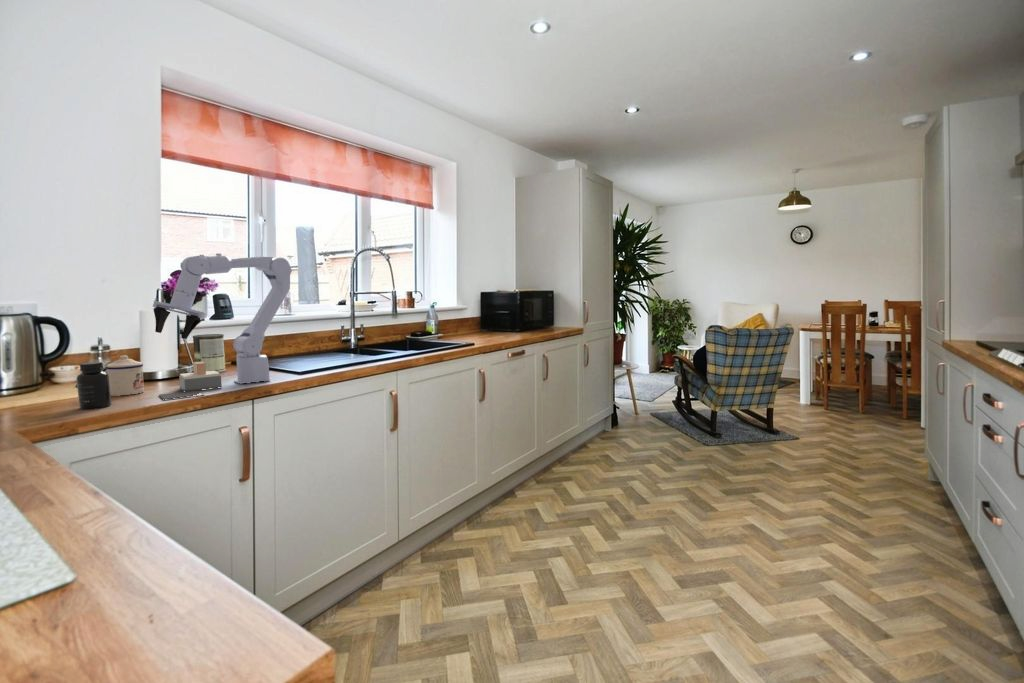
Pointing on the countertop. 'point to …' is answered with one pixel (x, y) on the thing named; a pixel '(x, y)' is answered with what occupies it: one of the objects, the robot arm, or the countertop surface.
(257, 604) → the countertop surface
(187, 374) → the lid
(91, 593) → the countertop surface
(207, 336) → the coffee can
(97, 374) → the supplement bottle
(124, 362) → the ceramic lidded jar
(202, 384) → the box
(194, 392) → the mat
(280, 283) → the robot arm
